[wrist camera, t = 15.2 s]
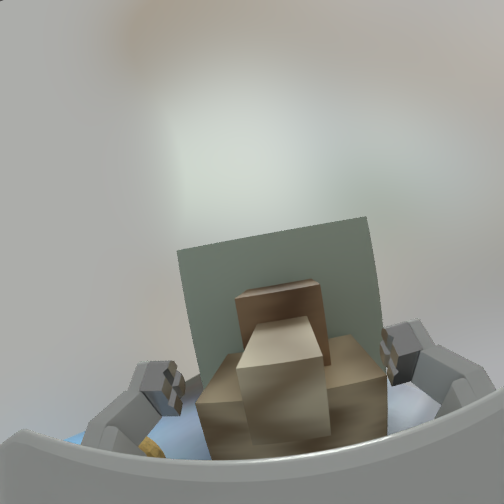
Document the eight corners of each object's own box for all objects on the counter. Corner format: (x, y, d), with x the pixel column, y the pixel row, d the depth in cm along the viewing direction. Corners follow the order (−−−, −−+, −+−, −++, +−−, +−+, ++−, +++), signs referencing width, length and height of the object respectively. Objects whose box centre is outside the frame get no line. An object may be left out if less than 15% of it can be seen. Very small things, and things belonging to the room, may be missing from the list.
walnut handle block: (225, 446, 11) (196, 325, 11) (258, 350, 27) (247, 289, 27) (358, 429, 11) (347, 301, 11) (320, 340, 26) (311, 278, 27)
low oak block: (239, 534, 16) (195, 403, 17) (253, 468, 27) (227, 354, 27) (379, 517, 15) (386, 375, 15) (358, 453, 25) (350, 334, 26)
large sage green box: (223, 459, 29) (176, 250, 30) (238, 416, 41) (206, 253, 42) (386, 435, 27) (366, 216, 28) (364, 396, 39) (343, 229, 40)
